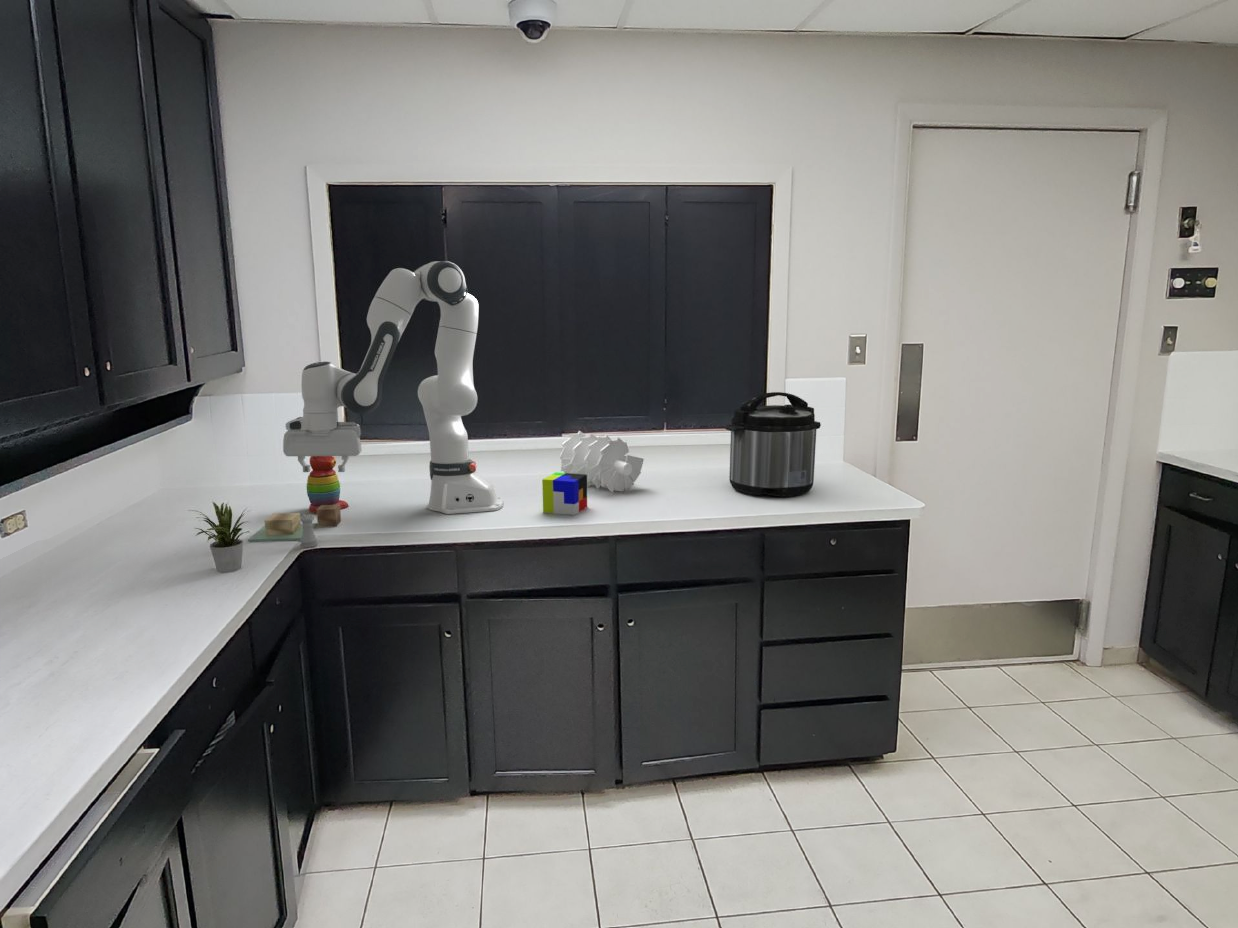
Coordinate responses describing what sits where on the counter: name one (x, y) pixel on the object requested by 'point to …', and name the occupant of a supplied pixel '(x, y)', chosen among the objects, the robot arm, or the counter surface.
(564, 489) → the puzzle toy
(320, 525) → the walnut cube
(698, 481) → the counter surface
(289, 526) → the oak base block
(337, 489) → the stacking bear
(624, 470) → the spiral staircase
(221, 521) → the house plant
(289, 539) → the build pad
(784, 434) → the pressure cooker
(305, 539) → the rook chess piece
